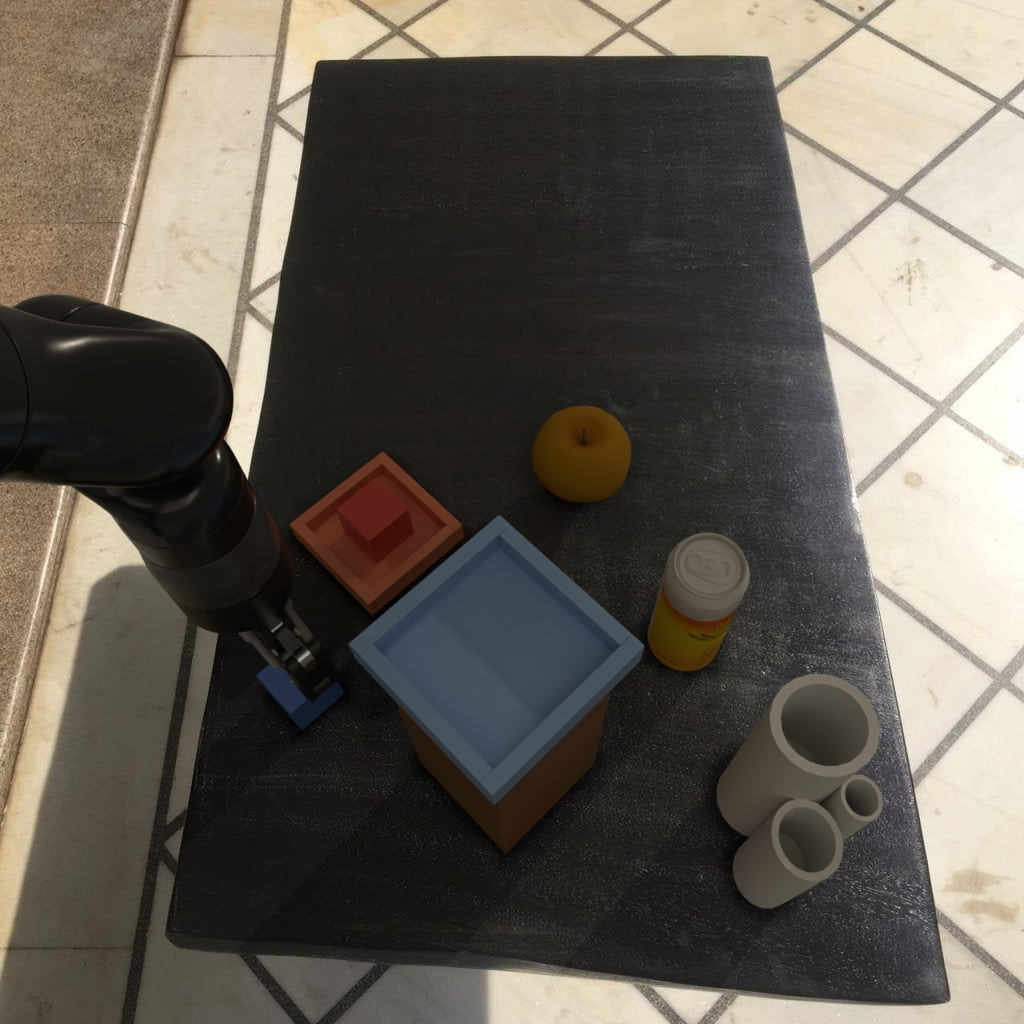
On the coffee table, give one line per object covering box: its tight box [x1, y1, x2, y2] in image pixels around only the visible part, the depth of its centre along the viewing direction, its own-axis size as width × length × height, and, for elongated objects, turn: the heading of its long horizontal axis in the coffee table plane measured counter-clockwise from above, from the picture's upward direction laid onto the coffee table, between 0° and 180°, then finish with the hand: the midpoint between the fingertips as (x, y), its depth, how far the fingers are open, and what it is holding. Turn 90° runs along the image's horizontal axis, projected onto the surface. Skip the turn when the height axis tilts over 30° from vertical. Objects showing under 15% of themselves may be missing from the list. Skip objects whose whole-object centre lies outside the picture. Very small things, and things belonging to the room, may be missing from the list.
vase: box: [715, 673, 884, 909], centre depth 67 cm, size 11×7×20 cm, turn 8°
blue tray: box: [348, 514, 645, 854], centre depth 67 cm, size 12×12×26 cm
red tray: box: [289, 451, 465, 616], centre depth 87 cm, size 11×11×2 cm
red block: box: [336, 478, 414, 564], centre depth 86 cm, size 4×4×4 cm
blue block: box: [256, 663, 344, 731], centre depth 80 cm, size 4×4×4 cm
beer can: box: [647, 532, 751, 672], centre depth 77 cm, size 6×6×15 cm
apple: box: [531, 405, 632, 504], centre depth 87 cm, size 9×9×9 cm
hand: (279, 645), depth 72 cm, fingers open, 8 cm apart
